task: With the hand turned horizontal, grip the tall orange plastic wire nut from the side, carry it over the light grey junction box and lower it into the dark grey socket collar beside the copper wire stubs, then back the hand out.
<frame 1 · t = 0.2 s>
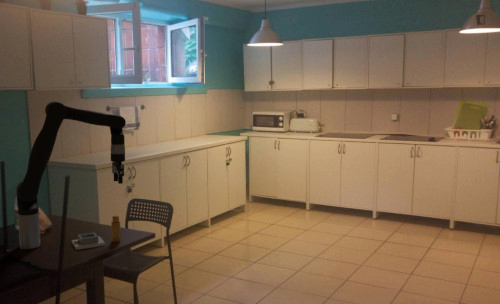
hand: (118, 182, 256), 29 cm above the table, fingers open, 8 cm apart
wire nut: (116, 240, 247), on the table
junction box: (88, 244, 241), on the table
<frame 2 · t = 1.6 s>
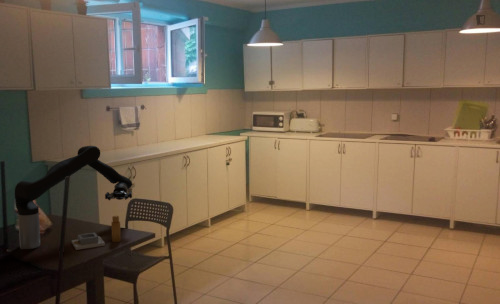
hand: (117, 198, 255), 20 cm above the table, fingers open, 8 cm apart
nothing on the table moved.
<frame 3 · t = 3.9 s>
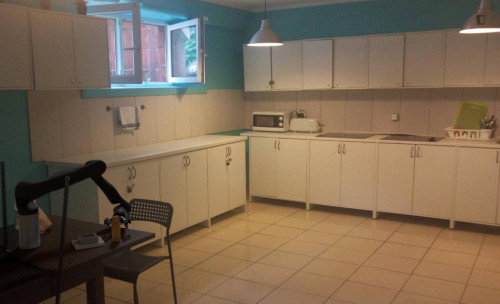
hand: (116, 224, 250), 7 cm above the table, fingers open, 8 cm apart
nothing on the table moved.
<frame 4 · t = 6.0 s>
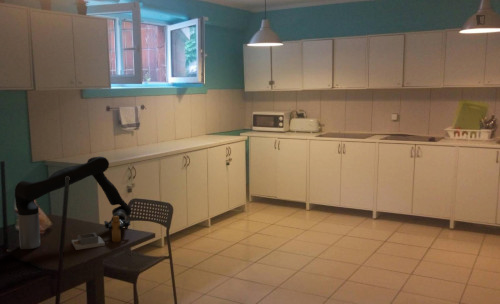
hand: (115, 228, 243), 8 cm above the table, fingers closed on wire nut, 4 cm apart
wire nut: (116, 240, 247), on the table, touching gripper
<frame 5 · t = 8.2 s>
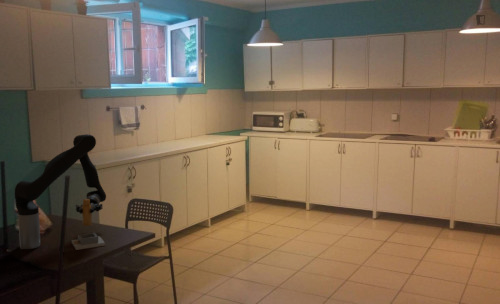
hand: (85, 211, 236), 18 cm above the table, fingers closed on wire nut, 4 cm apart
wire nut: (87, 224, 239), point 10 cm above the table, touching gripper
when the fingers open (10 cm above the table, at t = 10.5 s): wire nut stays where it is, resting on junction box.
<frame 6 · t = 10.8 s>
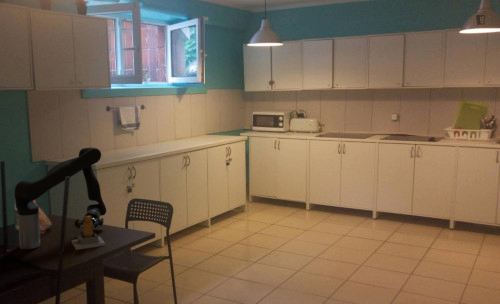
hand: (86, 226, 238), 10 cm above the table, fingers open, 7 cm apart
wire nut: (88, 241, 241), point 2 cm above the table, touching junction box
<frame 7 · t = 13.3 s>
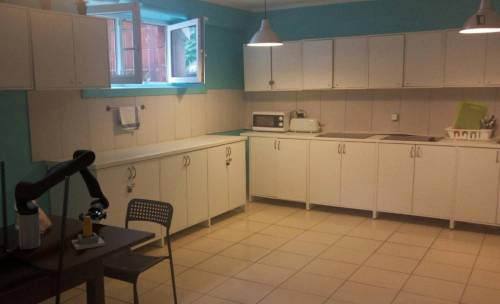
hand: (90, 219, 250), 10 cm above the table, fingers open, 8 cm apart
nothing on the table moved.
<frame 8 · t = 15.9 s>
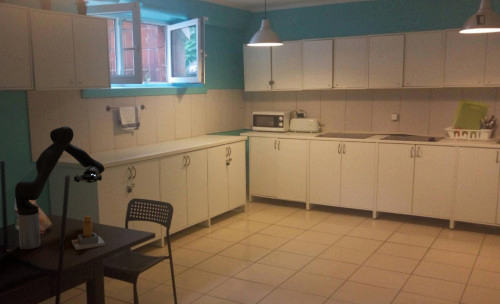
hand: (86, 180, 253), 30 cm above the table, fingers open, 8 cm apart
nothing on the table moved.
at the end: wire nut 0.1 cm off-centre on the junction box, point 1.5 cm above the junction box's base; wire nut tilted 1°; the gripper is holding nothing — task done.
